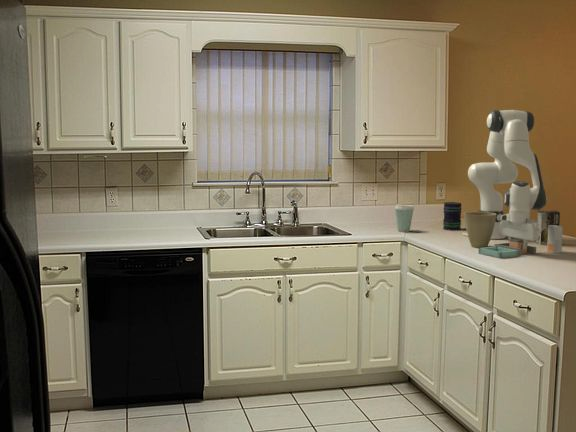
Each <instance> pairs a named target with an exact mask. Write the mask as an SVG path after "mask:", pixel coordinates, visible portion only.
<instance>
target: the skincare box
mask: <svg viewBox="0 0 576 432" xmlns="http://www.w3.org/2000/svg"><path fill="white" fill-rule="evenodd" d="M563 229H564V227H563V226H561V225H559V226H557V225H548V243H547V245H546V248H547V249H546V251H548V252H550V253H552V254H561V253H562V252H563V251H562V249H563Z"/></svg>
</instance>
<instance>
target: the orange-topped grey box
mask: <svg viewBox="0 0 576 432" xmlns="http://www.w3.org/2000/svg"><path fill="white" fill-rule="evenodd" d="M508 243H509V247H514V248H519V249H521V245H523V243H524V242H523V239H518V238H514V239H508ZM527 245H528V244H527ZM527 245H526V249H521V251H520V255H522V254H527Z"/></svg>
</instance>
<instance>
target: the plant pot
mask: <svg viewBox="0 0 576 432" xmlns="http://www.w3.org/2000/svg"><path fill="white" fill-rule="evenodd" d="M463 217H464V225H465V228H466V229H465V230H466V232H467V234H468V236H467V237H468V240H469V243H470V246H471V247H472V248H475V249H477V248H478V249H479V248H485V247H489V244H490V241H491V240H492V239H491V236H492V233H493V229H494V225H495V220H496V214H495V213H489V212H477V211H469V212H463Z"/></svg>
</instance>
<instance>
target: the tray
mask: <svg viewBox="0 0 576 432" xmlns="http://www.w3.org/2000/svg"><path fill="white" fill-rule="evenodd" d="M478 254H479V255H482V256H483V255H484V256H489V257H492V258H496V259H497V258H498V259H505V258H513V257H514V258H515V257H519V256H518V255H519V251H518V250H513V249H508V248H503V247H498V246H495V247H494V246H487V247H485V248H478Z"/></svg>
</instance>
